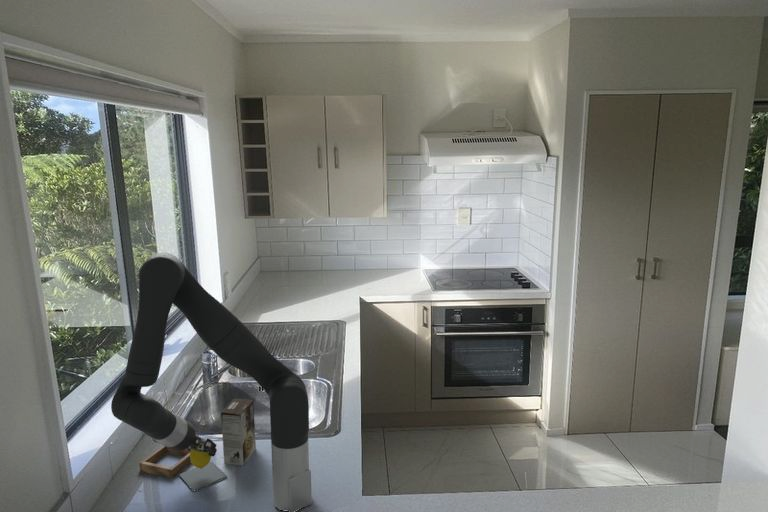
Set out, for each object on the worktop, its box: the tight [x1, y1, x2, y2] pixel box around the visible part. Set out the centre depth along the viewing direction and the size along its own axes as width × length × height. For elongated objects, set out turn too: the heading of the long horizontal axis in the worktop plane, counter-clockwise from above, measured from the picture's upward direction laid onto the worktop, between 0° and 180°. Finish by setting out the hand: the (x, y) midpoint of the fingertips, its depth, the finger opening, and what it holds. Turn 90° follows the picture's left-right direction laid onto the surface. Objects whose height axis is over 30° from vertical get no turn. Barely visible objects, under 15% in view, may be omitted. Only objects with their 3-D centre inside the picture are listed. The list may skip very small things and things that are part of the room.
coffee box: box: [220, 398, 257, 466], centre depth 157 cm, size 9×6×16 cm
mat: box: [178, 460, 228, 492], centre depth 148 cm, size 10×10×1 cm
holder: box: [138, 445, 192, 479], centre depth 154 cm, size 11×11×2 cm
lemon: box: [190, 446, 212, 469], centre depth 147 cm, size 6×6×8 cm
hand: (204, 450), depth 149 cm, fingers closed on lemon, 5 cm apart
